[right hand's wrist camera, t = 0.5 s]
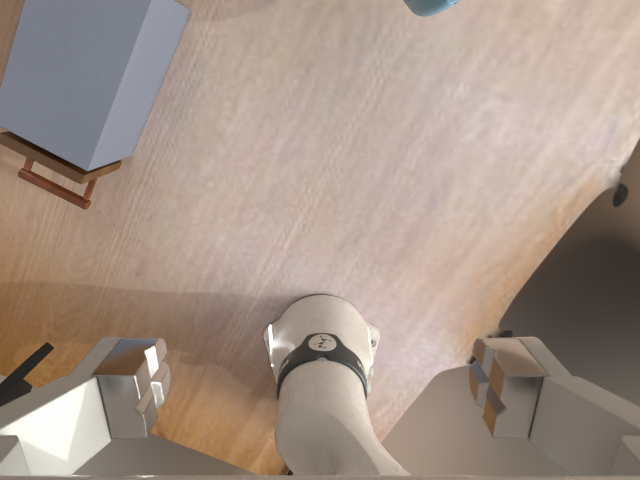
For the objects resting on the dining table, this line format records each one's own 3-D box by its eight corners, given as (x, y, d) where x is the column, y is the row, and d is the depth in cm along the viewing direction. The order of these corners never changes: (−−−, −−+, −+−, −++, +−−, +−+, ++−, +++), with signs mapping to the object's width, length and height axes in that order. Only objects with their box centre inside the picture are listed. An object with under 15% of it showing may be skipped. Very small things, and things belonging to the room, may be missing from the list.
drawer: (105, 202, 57) (66, 223, 48) (38, 168, 55) (-15, 184, 46) (173, 34, 49) (141, 23, 41) (98, -10, 48) (48, -33, 39)
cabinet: (132, 155, 56) (87, 171, 45) (55, 114, 54) (-10, 121, 43) (191, 10, 49) (156, -11, 39) (107, -41, 47) (46, -79, 37)
